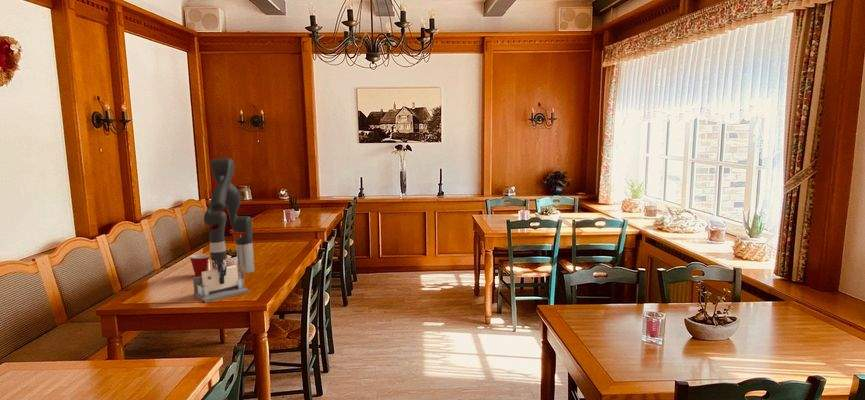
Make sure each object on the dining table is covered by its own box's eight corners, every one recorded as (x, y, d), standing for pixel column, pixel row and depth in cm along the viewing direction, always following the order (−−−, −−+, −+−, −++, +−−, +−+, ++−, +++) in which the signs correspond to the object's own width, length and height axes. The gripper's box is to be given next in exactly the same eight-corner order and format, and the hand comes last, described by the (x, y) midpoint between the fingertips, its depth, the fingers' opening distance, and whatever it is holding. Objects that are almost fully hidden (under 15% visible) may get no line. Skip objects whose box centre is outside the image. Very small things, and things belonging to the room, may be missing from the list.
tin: (246, 281, 290) (245, 266, 289) (243, 283, 287) (242, 268, 286) (220, 281, 292) (219, 266, 291) (217, 283, 289) (216, 268, 287)
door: (203, 291, 264) (201, 271, 263) (236, 283, 275) (235, 265, 274) (206, 292, 261) (204, 273, 260) (239, 285, 272) (238, 266, 271)
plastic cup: (214, 274, 306) (212, 254, 304) (195, 279, 298) (194, 258, 296) (206, 271, 313) (204, 252, 311) (188, 275, 305) (186, 255, 303)
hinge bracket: (194, 295, 268) (192, 277, 266) (236, 286, 282) (235, 268, 281) (205, 302, 256) (203, 283, 254) (249, 292, 270) (247, 274, 269)
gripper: (230, 251, 263) (233, 284, 265) (220, 246, 273) (223, 278, 276) (215, 253, 258) (218, 287, 260) (205, 249, 268) (208, 281, 271)
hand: (220, 282), depth 268 cm, fingers closed on door, 3 cm apart
